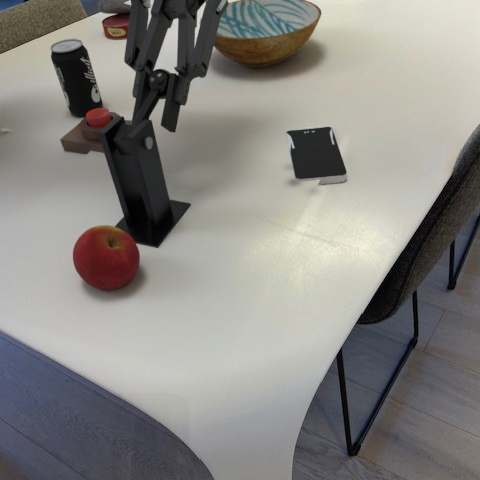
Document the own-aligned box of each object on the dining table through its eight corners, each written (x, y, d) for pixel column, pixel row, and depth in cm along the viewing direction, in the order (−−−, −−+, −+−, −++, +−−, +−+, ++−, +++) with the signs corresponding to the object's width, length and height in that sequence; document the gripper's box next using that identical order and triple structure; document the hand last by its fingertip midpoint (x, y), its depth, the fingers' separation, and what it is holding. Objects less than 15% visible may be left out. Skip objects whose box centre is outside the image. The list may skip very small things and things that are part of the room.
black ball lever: (159, 85, 67) (150, 61, 64) (183, 87, 66) (174, 63, 63) (117, 157, 62) (105, 135, 59) (141, 161, 61) (130, 139, 58)
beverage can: (93, 119, 94) (72, 52, 85) (64, 117, 96) (40, 51, 87) (109, 103, 98) (91, 38, 89) (81, 101, 100) (60, 37, 91)
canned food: (109, 54, 129) (86, 14, 124) (139, 38, 132) (118, -2, 127) (122, 41, 119) (98, -3, 115) (155, 24, 122) (133, -19, 118)
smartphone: (295, 179, 73) (285, 129, 82) (295, 187, 74) (285, 137, 83) (347, 174, 72) (331, 125, 82) (347, 182, 73) (330, 132, 83)
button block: (64, 150, 87) (56, 129, 84) (92, 126, 92) (86, 105, 89) (121, 160, 83) (115, 137, 80) (148, 134, 88) (142, 112, 85)
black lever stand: (144, 201, 74) (118, 104, 63) (192, 210, 72) (173, 110, 61) (109, 242, 68) (73, 142, 57) (159, 253, 66) (132, 151, 55)
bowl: (186, 78, 103) (180, 36, 97) (227, 34, 119) (223, -5, 113) (304, 85, 96) (304, 40, 90) (330, 37, 112) (333, -4, 106)
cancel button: (84, 127, 84) (81, 117, 83) (97, 116, 87) (94, 106, 85) (103, 129, 83) (100, 119, 82) (116, 118, 85) (113, 108, 84)
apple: (102, 313, 59) (80, 263, 53) (75, 278, 64) (53, 229, 58) (156, 284, 62) (142, 234, 56) (127, 253, 66) (111, 203, 60)
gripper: (259, -41, 63) (221, 143, 66) (147, -42, 68) (116, 129, 71) (239, -85, 56) (198, 124, 58) (116, -81, 61) (83, 110, 64)
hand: (153, 126), depth 65 cm, fingers closed on black ball lever, 4 cm apart
